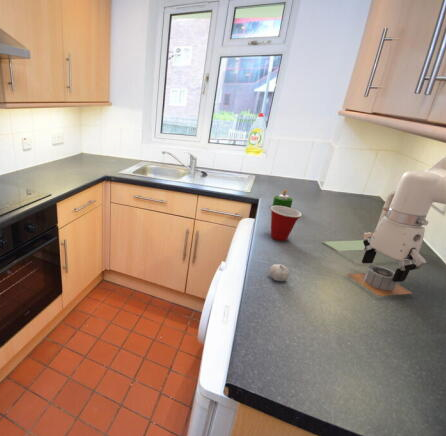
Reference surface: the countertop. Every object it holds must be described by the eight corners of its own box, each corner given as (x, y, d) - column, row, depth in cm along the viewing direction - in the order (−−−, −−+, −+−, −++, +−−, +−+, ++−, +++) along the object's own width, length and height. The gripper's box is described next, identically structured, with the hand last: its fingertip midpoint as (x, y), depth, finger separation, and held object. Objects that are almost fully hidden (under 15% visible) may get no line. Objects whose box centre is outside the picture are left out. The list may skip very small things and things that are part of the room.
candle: (268, 207, 151) (273, 188, 147) (276, 204, 156) (281, 186, 152) (285, 212, 145) (290, 192, 141) (293, 209, 150) (298, 190, 146)
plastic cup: (295, 246, 111) (304, 216, 106) (264, 240, 115) (270, 211, 111) (293, 235, 120) (301, 207, 116) (264, 230, 124) (270, 203, 120)
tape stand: (377, 274, 94) (381, 262, 92) (412, 295, 84) (418, 282, 82) (345, 276, 93) (349, 264, 91) (378, 298, 82) (383, 284, 81)
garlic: (287, 286, 87) (291, 271, 85) (267, 281, 89) (270, 266, 87) (287, 276, 92) (291, 262, 90) (268, 271, 94) (272, 257, 92)
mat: (368, 240, 117) (369, 239, 117) (410, 261, 102) (410, 260, 102) (322, 242, 114) (322, 241, 114) (357, 264, 100) (358, 262, 100)
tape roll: (378, 276, 91) (382, 264, 90) (400, 289, 85) (405, 277, 84) (357, 277, 91) (361, 265, 89) (378, 290, 84) (383, 279, 83)
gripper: (453, 230, 72) (423, 288, 79) (386, 206, 88) (366, 256, 95) (427, 231, 72) (399, 289, 78) (364, 206, 87) (345, 257, 94)
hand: (381, 271), depth 86 cm, fingers open, 9 cm apart
